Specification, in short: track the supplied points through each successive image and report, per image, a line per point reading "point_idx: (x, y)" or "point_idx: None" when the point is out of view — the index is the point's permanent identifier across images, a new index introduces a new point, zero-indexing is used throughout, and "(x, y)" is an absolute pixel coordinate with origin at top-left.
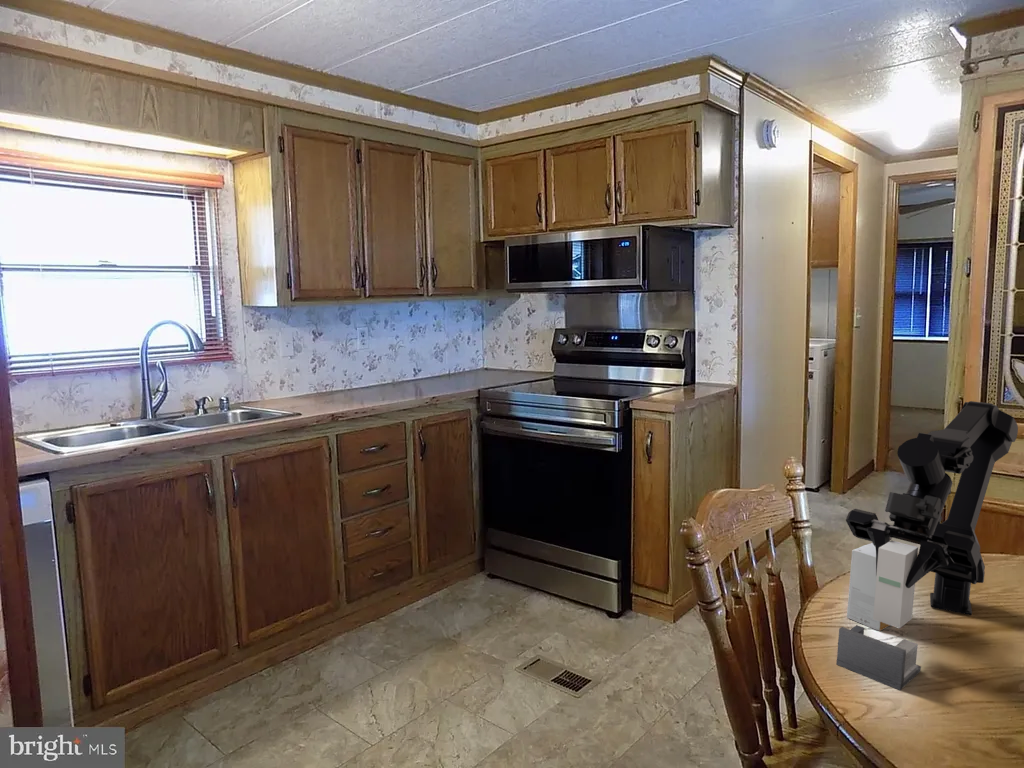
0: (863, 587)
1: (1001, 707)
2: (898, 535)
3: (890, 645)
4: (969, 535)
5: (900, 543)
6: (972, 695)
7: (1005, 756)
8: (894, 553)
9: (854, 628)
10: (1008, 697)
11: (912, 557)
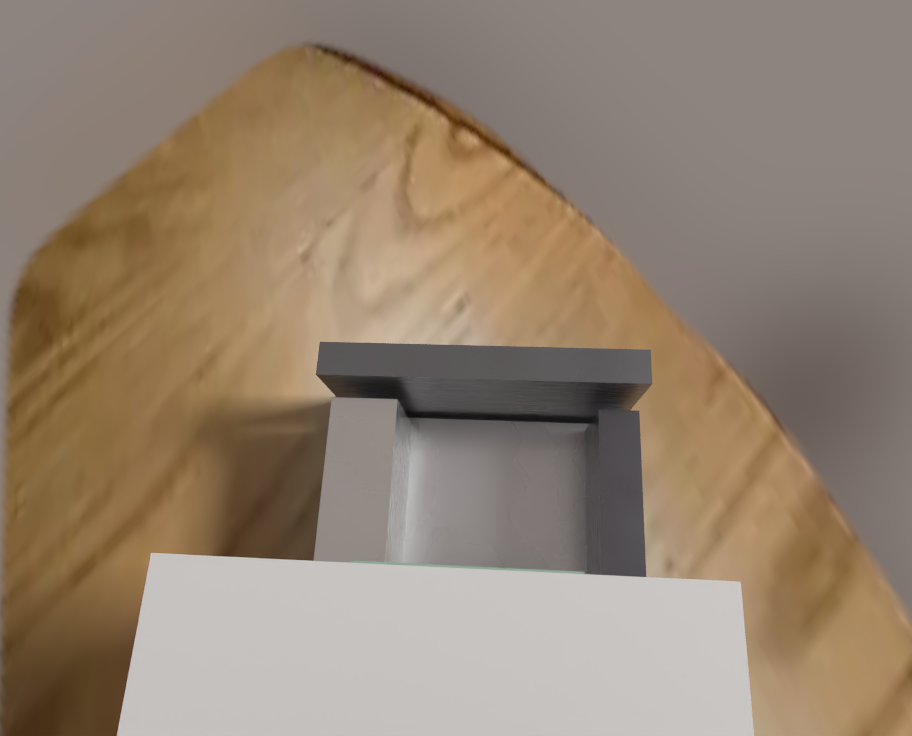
0: None
1: (44, 558)
2: None
3: (388, 366)
4: None
5: None
6: (140, 569)
7: (34, 261)
8: (386, 571)
9: (634, 534)
10: (21, 668)
11: None
